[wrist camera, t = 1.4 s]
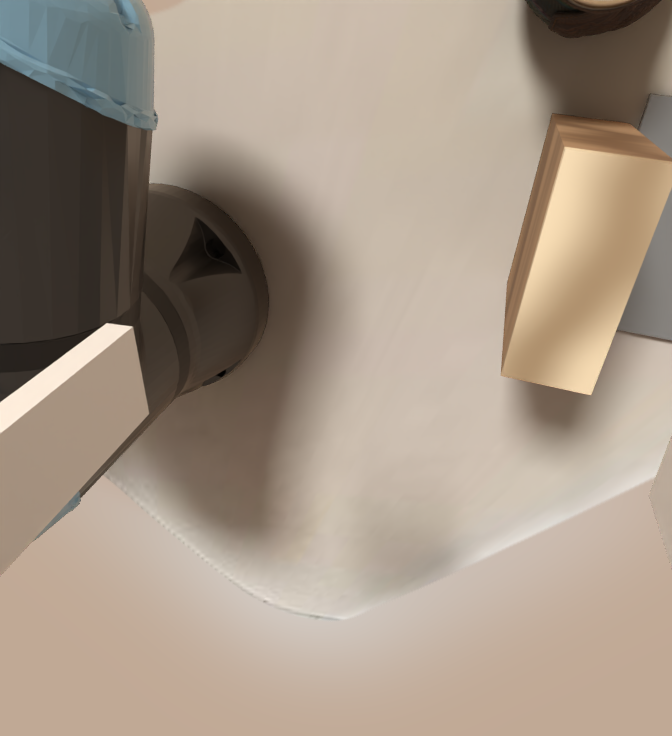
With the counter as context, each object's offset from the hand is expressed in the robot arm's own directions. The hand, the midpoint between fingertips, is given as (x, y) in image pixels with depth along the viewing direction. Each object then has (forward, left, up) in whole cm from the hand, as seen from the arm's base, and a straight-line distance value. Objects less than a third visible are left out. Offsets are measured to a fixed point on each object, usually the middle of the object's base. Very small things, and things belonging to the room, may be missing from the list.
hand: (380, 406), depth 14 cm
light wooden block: (+6, 0, -25) cm, 25 cm away
